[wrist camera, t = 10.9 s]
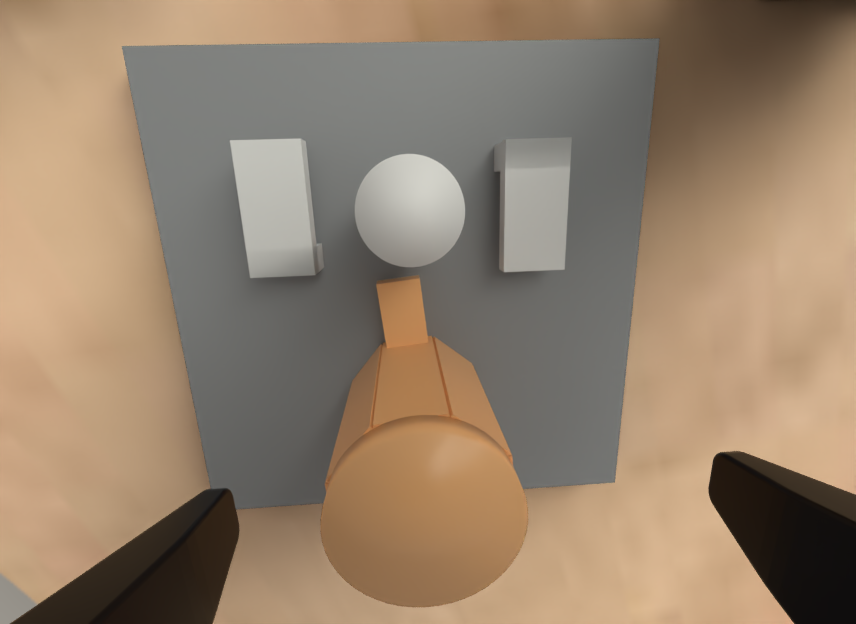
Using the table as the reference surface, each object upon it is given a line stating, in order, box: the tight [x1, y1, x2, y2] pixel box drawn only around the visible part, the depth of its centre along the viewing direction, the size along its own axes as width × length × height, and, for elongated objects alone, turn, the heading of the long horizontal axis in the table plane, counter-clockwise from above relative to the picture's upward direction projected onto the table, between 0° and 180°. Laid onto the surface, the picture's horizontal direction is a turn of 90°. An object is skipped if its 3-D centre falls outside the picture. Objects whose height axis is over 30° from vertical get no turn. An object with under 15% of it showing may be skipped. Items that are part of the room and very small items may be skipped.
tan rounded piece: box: [321, 275, 528, 607], centre depth 15 cm, size 11×6×8 cm, turn 7°
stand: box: [122, 38, 660, 509], centre depth 16 cm, size 20×20×8 cm
